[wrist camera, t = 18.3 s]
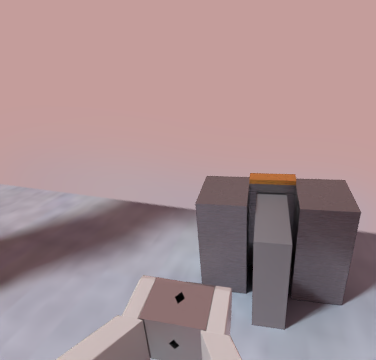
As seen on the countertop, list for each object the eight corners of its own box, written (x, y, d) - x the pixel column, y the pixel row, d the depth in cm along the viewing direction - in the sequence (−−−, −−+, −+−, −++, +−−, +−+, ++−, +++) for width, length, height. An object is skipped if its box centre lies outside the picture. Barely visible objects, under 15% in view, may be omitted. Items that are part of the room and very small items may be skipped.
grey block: (251, 324, 29) (253, 241, 24) (255, 266, 36) (256, 193, 31) (284, 329, 28) (292, 244, 24) (281, 269, 35) (286, 195, 30)
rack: (202, 288, 33) (195, 199, 28) (211, 252, 38) (206, 172, 33) (341, 305, 30) (362, 207, 25) (330, 263, 35) (345, 175, 30)
